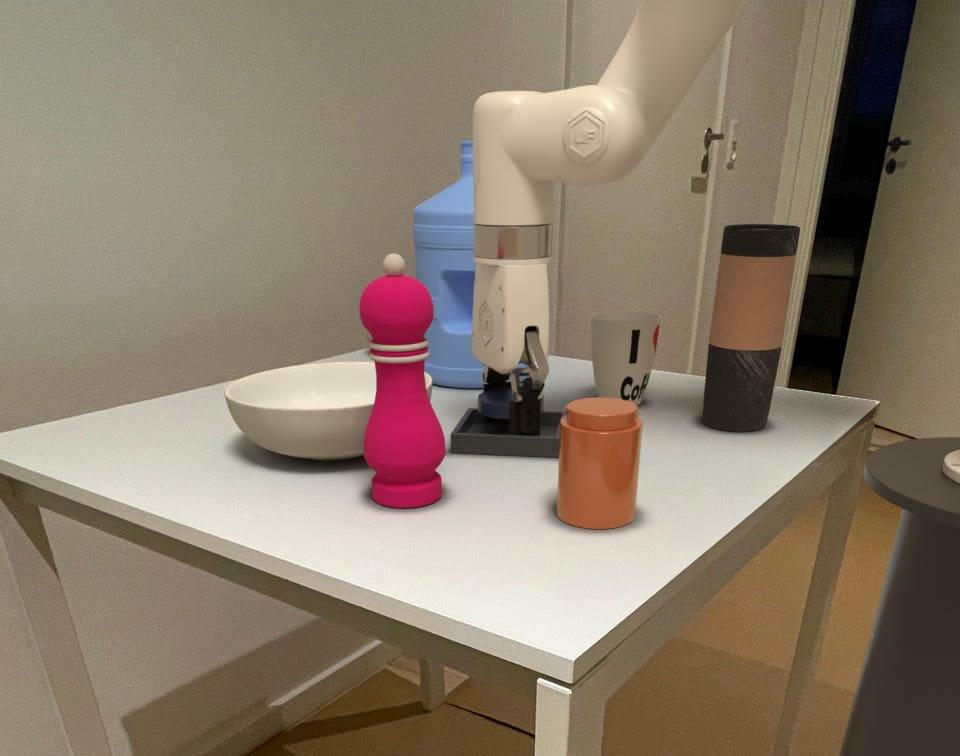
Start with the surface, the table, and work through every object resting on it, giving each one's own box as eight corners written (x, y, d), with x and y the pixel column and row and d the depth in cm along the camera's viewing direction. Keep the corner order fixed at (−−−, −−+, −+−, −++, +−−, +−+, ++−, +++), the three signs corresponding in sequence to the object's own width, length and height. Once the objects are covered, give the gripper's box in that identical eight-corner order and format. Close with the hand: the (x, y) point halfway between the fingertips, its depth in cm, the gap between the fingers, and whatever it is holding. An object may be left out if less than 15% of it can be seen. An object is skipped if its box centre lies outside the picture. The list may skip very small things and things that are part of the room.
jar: (635, 502, 74) (644, 397, 69) (634, 531, 68) (644, 418, 64) (560, 498, 75) (564, 394, 70) (553, 527, 69) (557, 415, 65)
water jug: (397, 374, 117) (384, 142, 103) (486, 359, 126) (484, 142, 112) (463, 396, 107) (458, 139, 93) (555, 378, 115) (564, 139, 101)
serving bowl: (394, 412, 100) (390, 352, 97) (466, 461, 84) (465, 392, 81) (217, 435, 93) (206, 371, 89) (259, 494, 76) (247, 419, 73)
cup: (624, 413, 99) (631, 324, 94) (573, 401, 104) (576, 316, 99) (666, 401, 103) (674, 315, 98) (615, 390, 109) (620, 308, 104)
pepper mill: (389, 479, 80) (373, 248, 70) (459, 487, 77) (453, 250, 67) (352, 504, 74) (329, 257, 64) (427, 515, 72) (415, 259, 62)
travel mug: (773, 418, 96) (806, 224, 86) (763, 436, 90) (796, 230, 80) (706, 411, 99) (730, 223, 89) (692, 428, 93) (716, 228, 83)
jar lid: (472, 418, 86) (472, 403, 85) (483, 400, 92) (483, 386, 91) (539, 420, 85) (540, 405, 84) (546, 402, 91) (547, 388, 90)
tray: (567, 429, 94) (568, 411, 92) (559, 457, 85) (560, 438, 84) (468, 425, 95) (468, 407, 94) (451, 453, 87) (450, 434, 86)
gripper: (447, 239, 86) (451, 412, 95) (510, 255, 72) (508, 457, 81) (514, 236, 89) (512, 406, 98) (588, 251, 74) (578, 448, 83)
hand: (510, 427), depth 89 cm, fingers closed on jar lid, 6 cm apart
